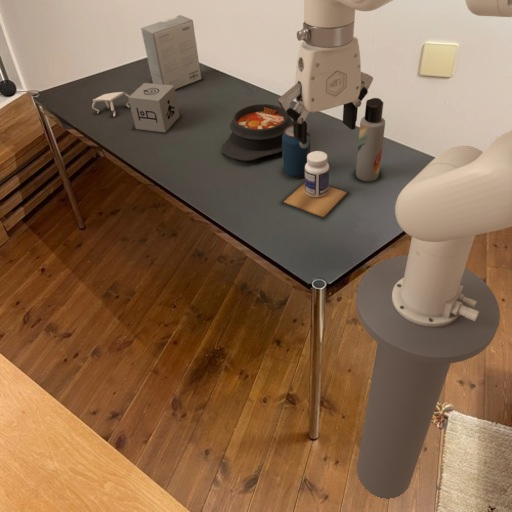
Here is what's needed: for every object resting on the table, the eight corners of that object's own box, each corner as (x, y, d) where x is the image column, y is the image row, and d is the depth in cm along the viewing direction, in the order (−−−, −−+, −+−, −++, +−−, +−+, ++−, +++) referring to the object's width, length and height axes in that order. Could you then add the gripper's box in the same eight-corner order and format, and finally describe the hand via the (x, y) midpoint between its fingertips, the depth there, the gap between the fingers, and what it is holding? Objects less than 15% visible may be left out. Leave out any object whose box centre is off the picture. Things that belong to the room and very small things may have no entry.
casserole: (267, 117, 154) (266, 90, 148) (316, 136, 144) (316, 108, 138) (206, 151, 141) (203, 124, 135) (255, 175, 131) (253, 146, 125)
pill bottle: (326, 183, 126) (328, 148, 119) (329, 197, 121) (331, 161, 115) (303, 185, 126) (303, 150, 119) (305, 199, 121) (306, 163, 115)
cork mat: (347, 193, 123) (347, 192, 122) (323, 217, 116) (323, 216, 116) (308, 180, 128) (308, 179, 128) (283, 202, 122) (283, 201, 121)
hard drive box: (189, 73, 181) (181, 14, 168) (202, 79, 177) (194, 19, 163) (152, 87, 174) (140, 27, 161) (164, 94, 170) (152, 32, 156)
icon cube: (135, 128, 153) (128, 97, 146) (150, 113, 160) (144, 82, 153) (165, 132, 150) (158, 100, 144) (179, 116, 157) (174, 85, 150)
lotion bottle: (382, 172, 128) (391, 98, 115) (373, 184, 125) (382, 108, 111) (361, 167, 131) (368, 93, 117) (352, 178, 127) (358, 103, 114)
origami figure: (105, 121, 158) (101, 106, 155) (92, 112, 163) (88, 98, 159) (138, 107, 163) (135, 93, 160) (125, 100, 168) (121, 85, 165)
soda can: (314, 175, 129) (315, 133, 121) (289, 182, 128) (289, 140, 119) (302, 162, 134) (302, 120, 126) (278, 169, 132) (277, 127, 124)
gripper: (289, 52, 72) (291, 156, 84) (390, 28, 77) (379, 129, 89) (266, 36, 78) (271, 136, 89) (363, 14, 82) (355, 112, 94)
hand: (325, 133), depth 89 cm, fingers open, 9 cm apart
